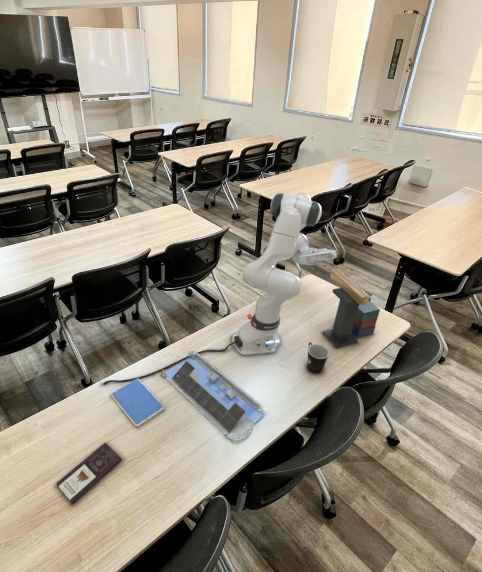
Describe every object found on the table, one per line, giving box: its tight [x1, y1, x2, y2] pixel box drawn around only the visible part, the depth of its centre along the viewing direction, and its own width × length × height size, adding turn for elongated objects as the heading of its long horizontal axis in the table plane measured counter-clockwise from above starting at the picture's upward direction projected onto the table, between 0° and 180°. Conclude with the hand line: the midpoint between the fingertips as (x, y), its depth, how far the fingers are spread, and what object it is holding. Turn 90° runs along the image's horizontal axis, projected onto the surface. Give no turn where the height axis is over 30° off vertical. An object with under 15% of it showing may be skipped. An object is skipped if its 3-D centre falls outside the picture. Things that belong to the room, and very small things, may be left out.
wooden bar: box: [329, 268, 371, 305], centre depth 159 cm, size 4×23×4 cm, turn 19°
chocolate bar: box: [56, 442, 123, 505], centre depth 115 cm, size 9×1×18 cm
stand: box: [322, 287, 372, 349], centre depth 165 cm, size 12×11×26 cm
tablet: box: [110, 379, 165, 428], centre depth 138 cm, size 19×13×1 cm, turn 43°
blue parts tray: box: [160, 350, 267, 442], centre depth 141 cm, size 18×45×6 cm, turn 44°
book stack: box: [351, 300, 381, 339], centre depth 175 cm, size 10×15×15 cm, turn 19°
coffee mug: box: [306, 342, 330, 375], centre depth 154 cm, size 12×9×10 cm
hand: (324, 257), depth 173 cm, fingers open, 8 cm apart
